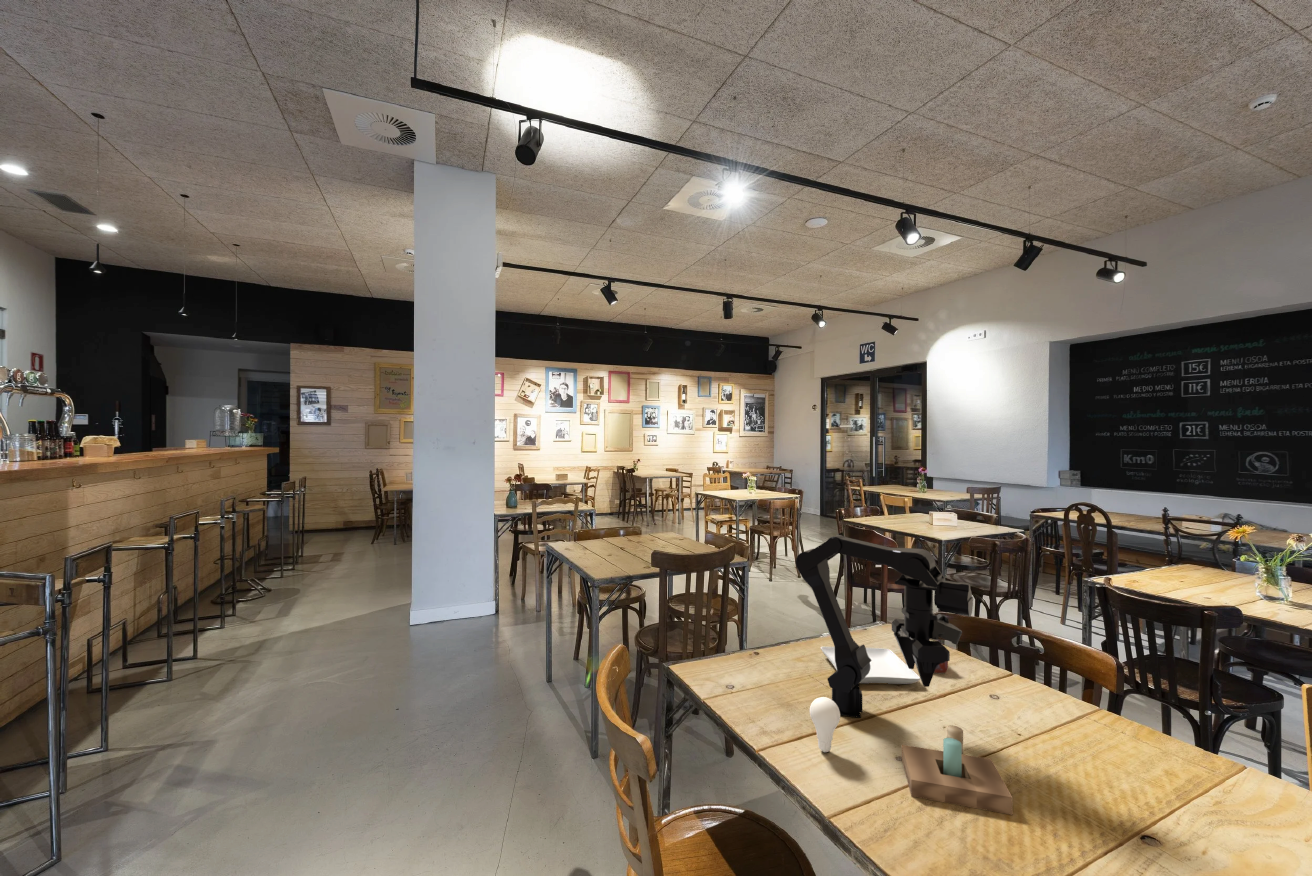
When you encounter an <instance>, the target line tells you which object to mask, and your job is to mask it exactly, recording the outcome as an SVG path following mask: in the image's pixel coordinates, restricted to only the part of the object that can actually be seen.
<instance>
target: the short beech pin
mask: <svg viewBox="0 0 1312 876" xmlns="http://www.w3.org/2000/svg"><path fill="white" fill-rule="evenodd" d="M946 738H953V739H956V740H958V741H960V742H961V744H962V754H963V755H964V729H962V728H961V727H960V726H957V725H953V724H952V725H951V724H949V725H947V726H946Z"/></svg>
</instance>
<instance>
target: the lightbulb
mask: <svg viewBox="0 0 1312 876" xmlns="http://www.w3.org/2000/svg"><path fill="white" fill-rule="evenodd" d="M809 716H810V719H811V721H812V724H813V725H814V728H815V731H816V739H817V747H818V749H819V750H820V751H821V752H823V753H827V752H830V751H831V749H832V741H833V738H834V737H833V736H834V732H835V731H836V730H835V729H836V728H837V726H838V725H839V723H840V719H841V715H840V711H839V708H838V706H837V705H836V703H835V702H834V701H832V698H829V697H826V696H821V697H820V696H819V697H817V698H815V699H814V700H813V701H812V702H811V703H810V706H809Z"/></svg>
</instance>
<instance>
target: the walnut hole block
mask: <svg viewBox="0 0 1312 876" xmlns="http://www.w3.org/2000/svg"><path fill="white" fill-rule="evenodd" d="M901 761H902V766H903V770H904V774H905V779H906V781H907V784H908V788H909V789H908V790H909V792H910V797H914V798H920V799H925V800H930V801H935V802H941V803H945V804H946V803H947V804H952V805H958V806H962V807H966V808H967V807H968V808H973V809H979V810H984V811H988V812H989V811H990V812H994V813H1001V814H1005V815H1011V816H1013V796H1012V794H1011V793H1010V790H1009V789H1008V786H1007V785H1006V783H1005V782H1004V780H1003V778H1002V776H1001V774H1000V773H999V770H998V768H997V766H996V765H995V763H994V762H993V760H992V758H989V757H982V756H975V755H968V754H964V753H963V754H962V778H961V777H955V776H949V775H943V750H939V749H938V750H937V749H932V748H925V747H919V746H913V745H907V744H901Z"/></svg>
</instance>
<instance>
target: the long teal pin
mask: <svg viewBox="0 0 1312 876" xmlns="http://www.w3.org/2000/svg"><path fill="white" fill-rule="evenodd" d="M942 745H943V746H942V747H943V750H942V751H943V775H949V776H955V777H961V778H962V744H961V742H960V741H958V740H956V739H953V738H947V737H945V738H943V743H942Z"/></svg>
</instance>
